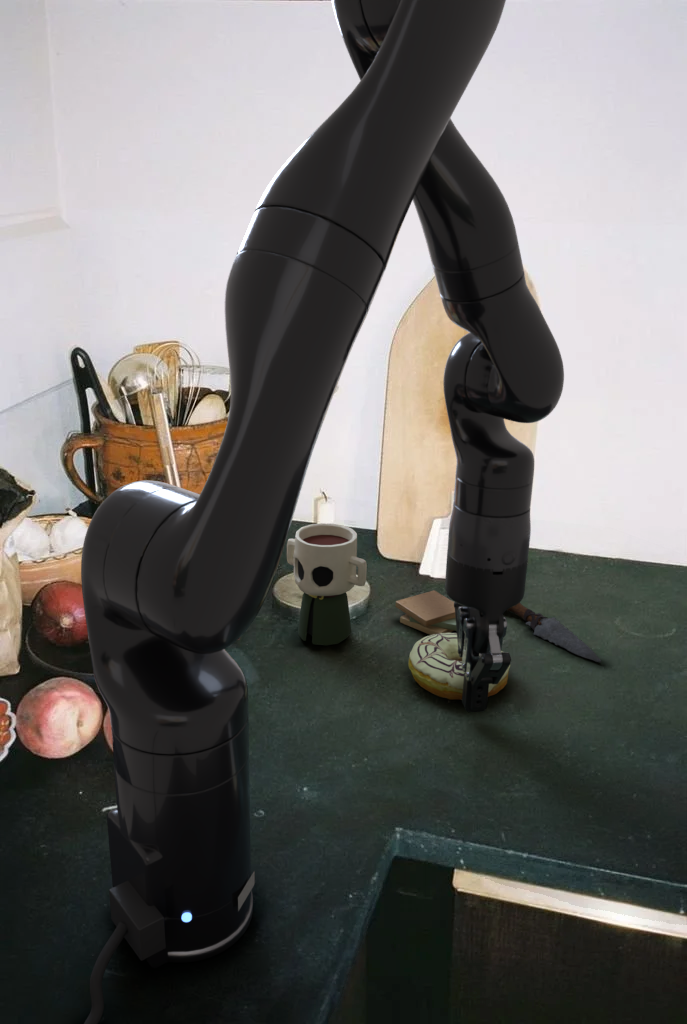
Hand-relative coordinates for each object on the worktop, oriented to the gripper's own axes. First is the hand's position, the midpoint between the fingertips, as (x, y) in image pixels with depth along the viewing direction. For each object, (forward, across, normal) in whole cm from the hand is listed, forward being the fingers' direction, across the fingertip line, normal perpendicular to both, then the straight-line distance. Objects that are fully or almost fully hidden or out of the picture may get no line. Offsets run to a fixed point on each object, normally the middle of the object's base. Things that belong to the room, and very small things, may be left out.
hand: (474, 708), depth 94 cm
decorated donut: (+2, -8, 0) cm, 8 cm away
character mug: (+2, -18, -13) cm, 23 cm away
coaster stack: (+1, -21, 0) cm, 21 cm away
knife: (+2, -17, +13) cm, 22 cm away
